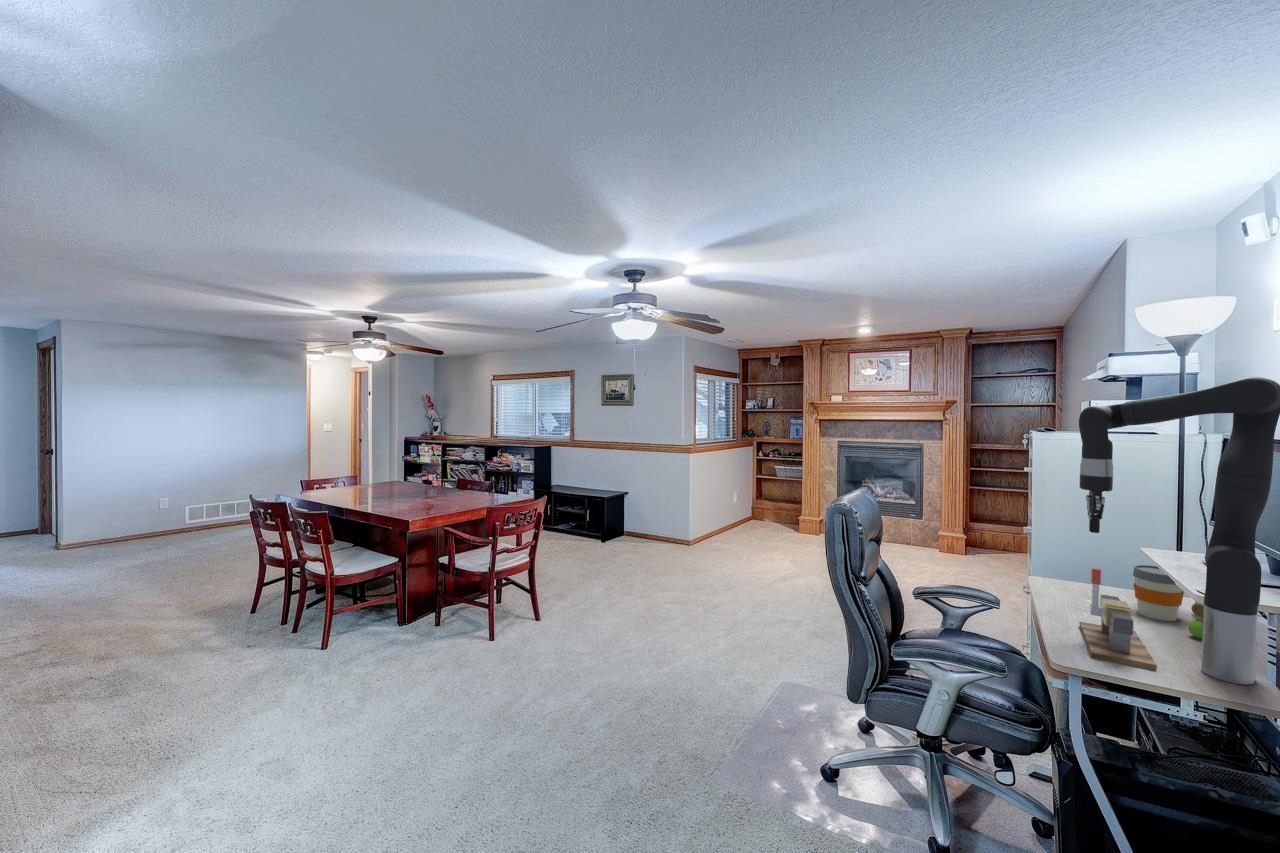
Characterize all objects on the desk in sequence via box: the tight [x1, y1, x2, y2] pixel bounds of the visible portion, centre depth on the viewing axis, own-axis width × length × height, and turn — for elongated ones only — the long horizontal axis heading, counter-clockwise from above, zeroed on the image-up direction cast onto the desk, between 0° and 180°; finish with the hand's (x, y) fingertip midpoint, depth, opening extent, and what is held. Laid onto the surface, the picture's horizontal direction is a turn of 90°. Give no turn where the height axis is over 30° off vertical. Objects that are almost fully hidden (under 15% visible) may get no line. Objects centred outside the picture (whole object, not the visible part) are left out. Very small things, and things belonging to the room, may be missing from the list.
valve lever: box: [1089, 567, 1103, 618], centre depth 158 cm, size 2×3×13 cm
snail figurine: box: [1187, 602, 1204, 640], centre depth 162 cm, size 5×6×12 cm
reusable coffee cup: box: [1132, 564, 1185, 622], centre depth 180 cm, size 12×13×15 cm
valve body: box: [1099, 594, 1134, 654], centre depth 156 cm, size 22×5×11 cm, turn 147°
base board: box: [1078, 621, 1158, 672], centre depth 156 cm, size 26×13×2 cm, turn 147°
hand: (1094, 532), depth 163 cm, fingers closed
